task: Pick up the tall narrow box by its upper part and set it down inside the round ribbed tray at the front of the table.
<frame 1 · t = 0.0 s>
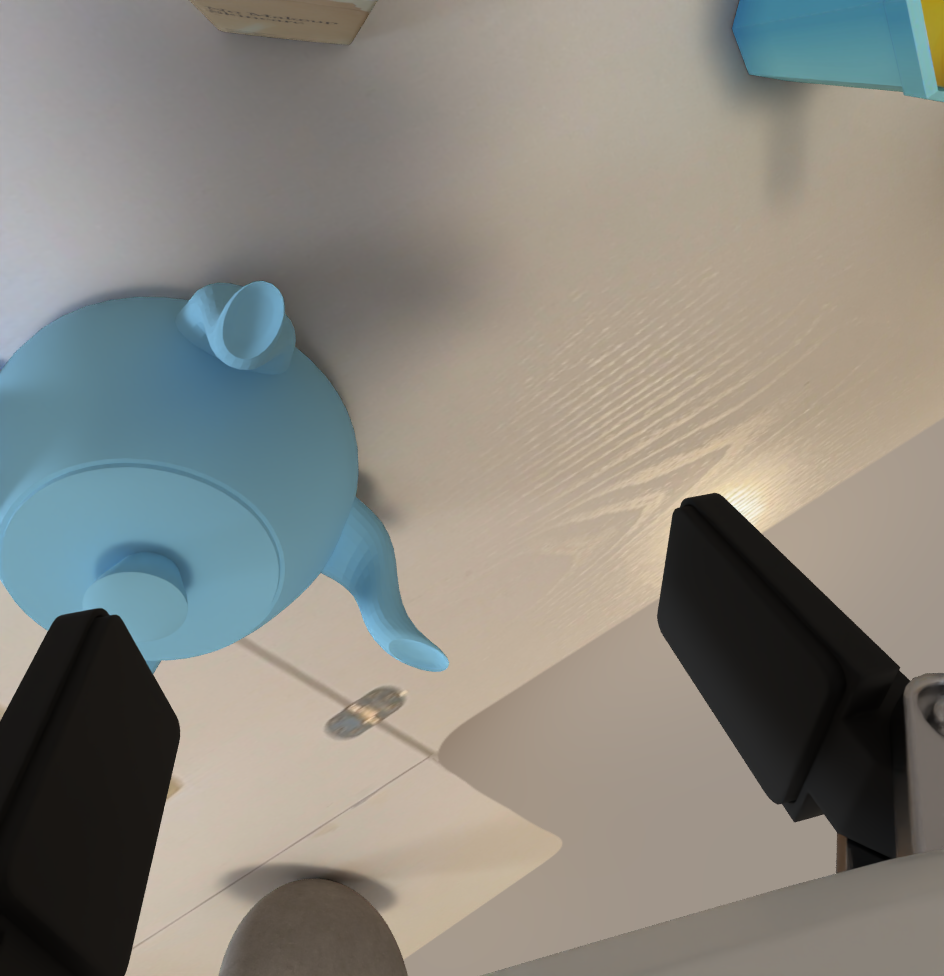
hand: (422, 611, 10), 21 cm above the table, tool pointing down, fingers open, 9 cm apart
planter: (322, 878, 55), on the table
teapot: (217, 453, 31), on the table
cup: (785, 34, 26), on the table
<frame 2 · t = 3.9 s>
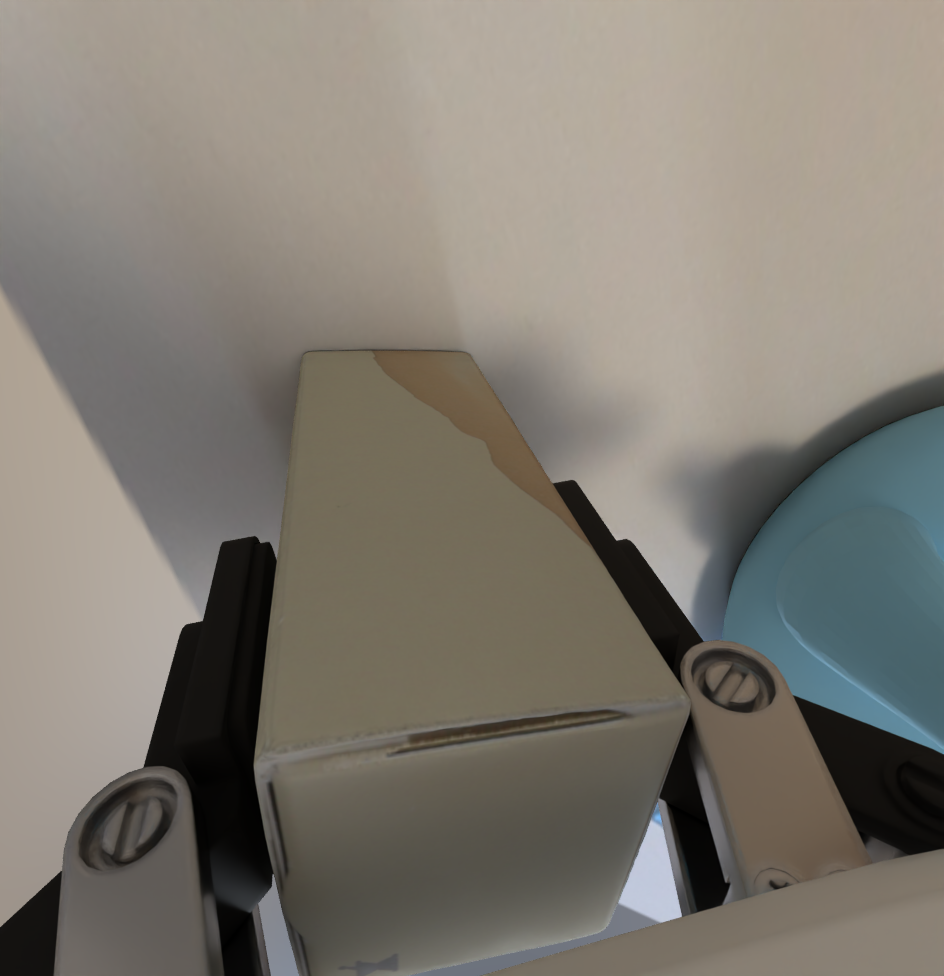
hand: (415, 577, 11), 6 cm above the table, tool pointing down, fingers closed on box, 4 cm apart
teapot: (901, 536, 23), on the table
box: (387, 432, 16), on the table, touching gripper
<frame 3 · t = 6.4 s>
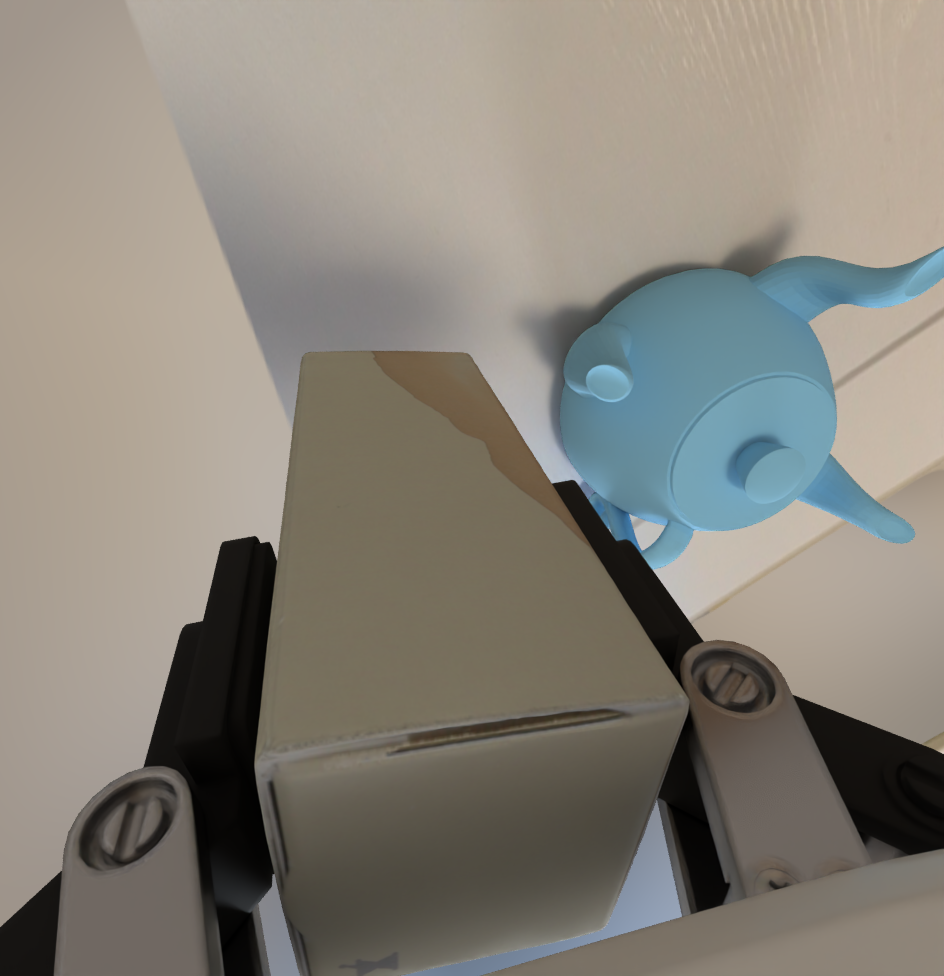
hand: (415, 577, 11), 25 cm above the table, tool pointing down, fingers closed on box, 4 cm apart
teapot: (674, 373, 39), on the table
box: (386, 432, 16), point 19 cm above the table, touching gripper
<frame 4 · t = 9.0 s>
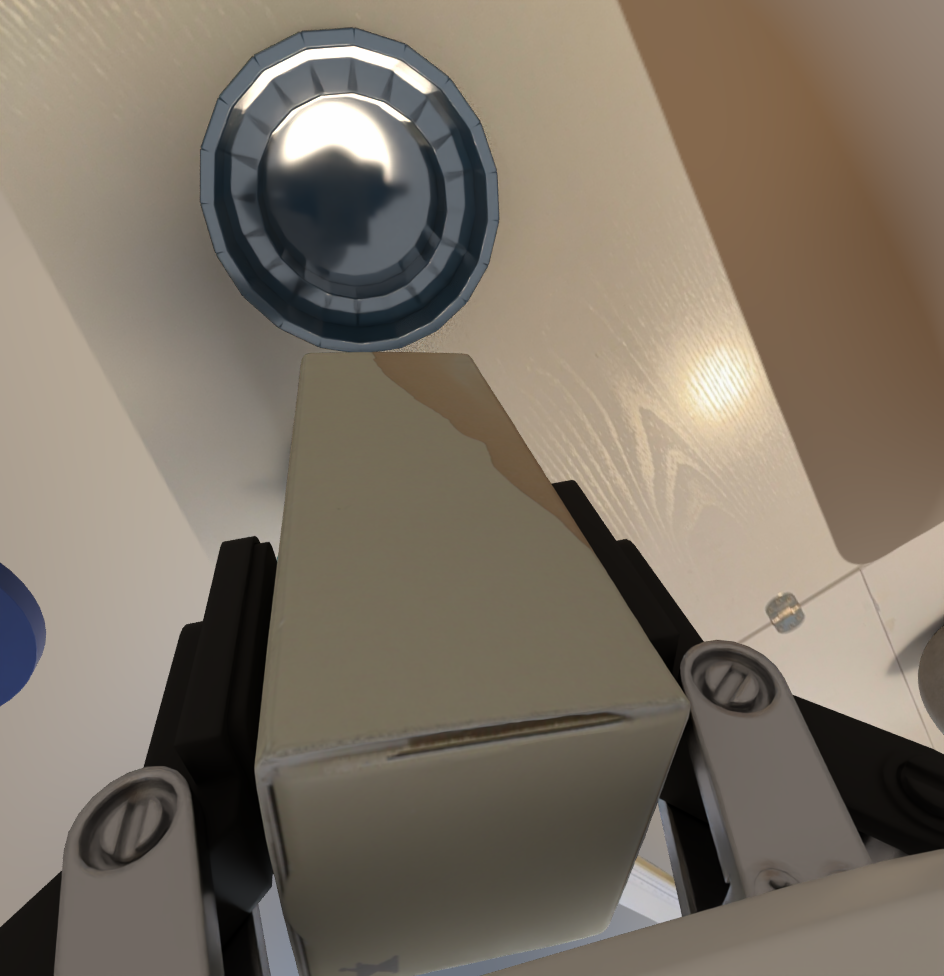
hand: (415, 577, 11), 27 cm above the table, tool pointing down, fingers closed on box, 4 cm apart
round ribbed tray: (352, 196, 32), on the table
box: (387, 433, 16), point 21 cm above the table, touching gripper
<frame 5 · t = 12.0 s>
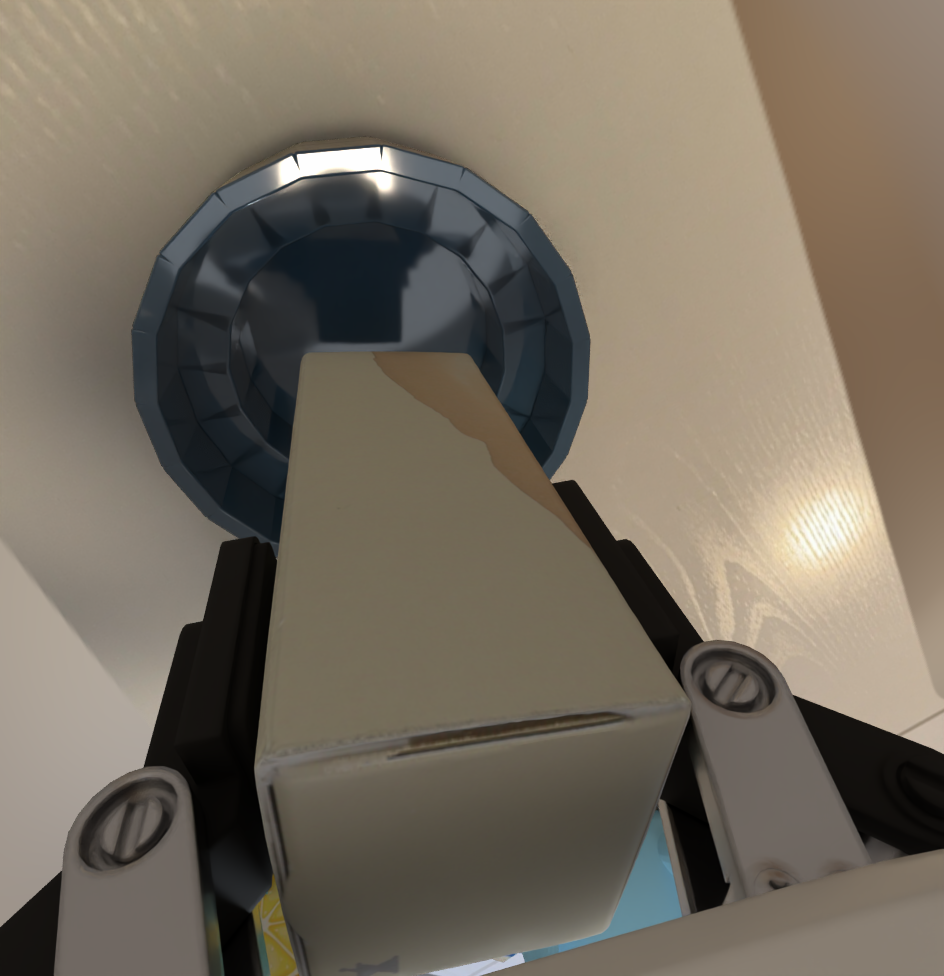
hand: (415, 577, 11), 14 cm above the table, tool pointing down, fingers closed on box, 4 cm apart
round ribbed tray: (367, 338, 22), on the table
teapot: (609, 842, 50), on the table
box: (386, 432, 16), point 8 cm above the table, touching gripper
cup: (363, 651, 32), on the table
when the fingers open (6 cm above the table, at t = 14.2 s): box stays where it is, resting on round ribbed tray.
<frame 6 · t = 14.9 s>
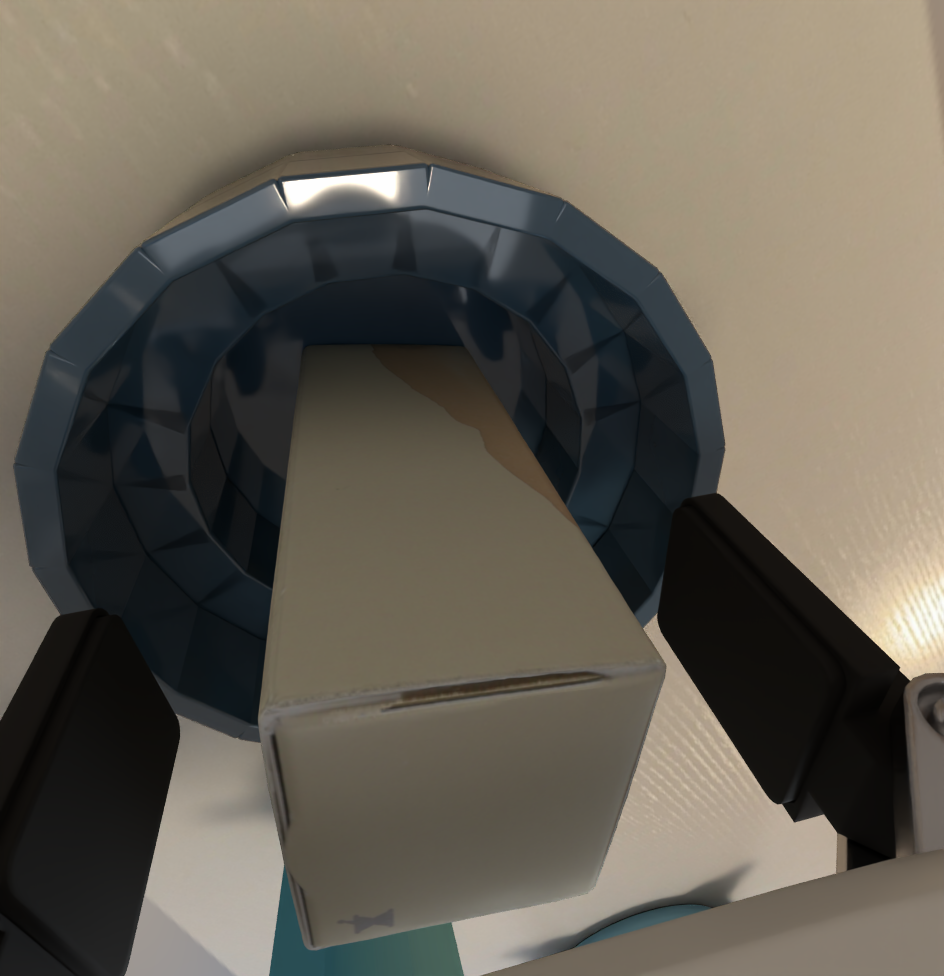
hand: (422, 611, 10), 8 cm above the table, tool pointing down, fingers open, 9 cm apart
round ribbed tray: (386, 415, 17), on the table
teapot: (648, 938, 44), on the table
box: (385, 424, 16), resting on round ribbed tray
cup: (375, 771, 26), on the table
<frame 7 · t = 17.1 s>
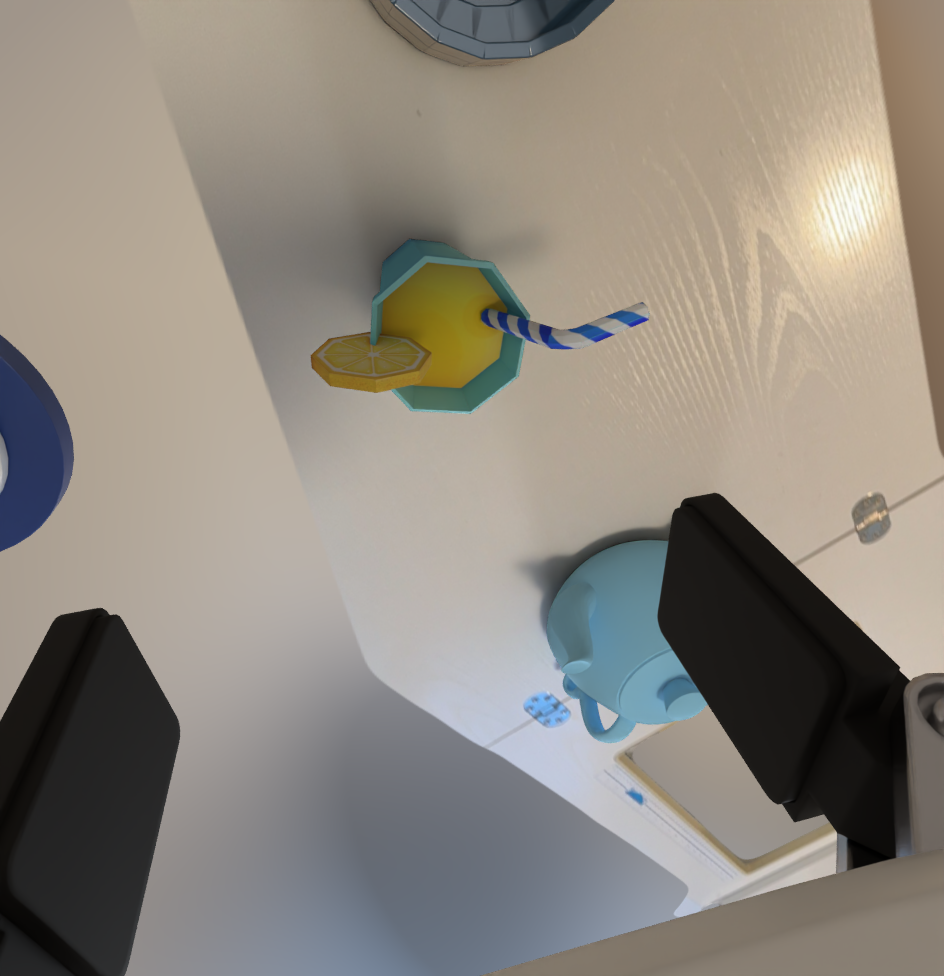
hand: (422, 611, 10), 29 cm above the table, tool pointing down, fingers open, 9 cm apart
teapot: (631, 588, 54), on the table
cup: (436, 278, 36), on the table
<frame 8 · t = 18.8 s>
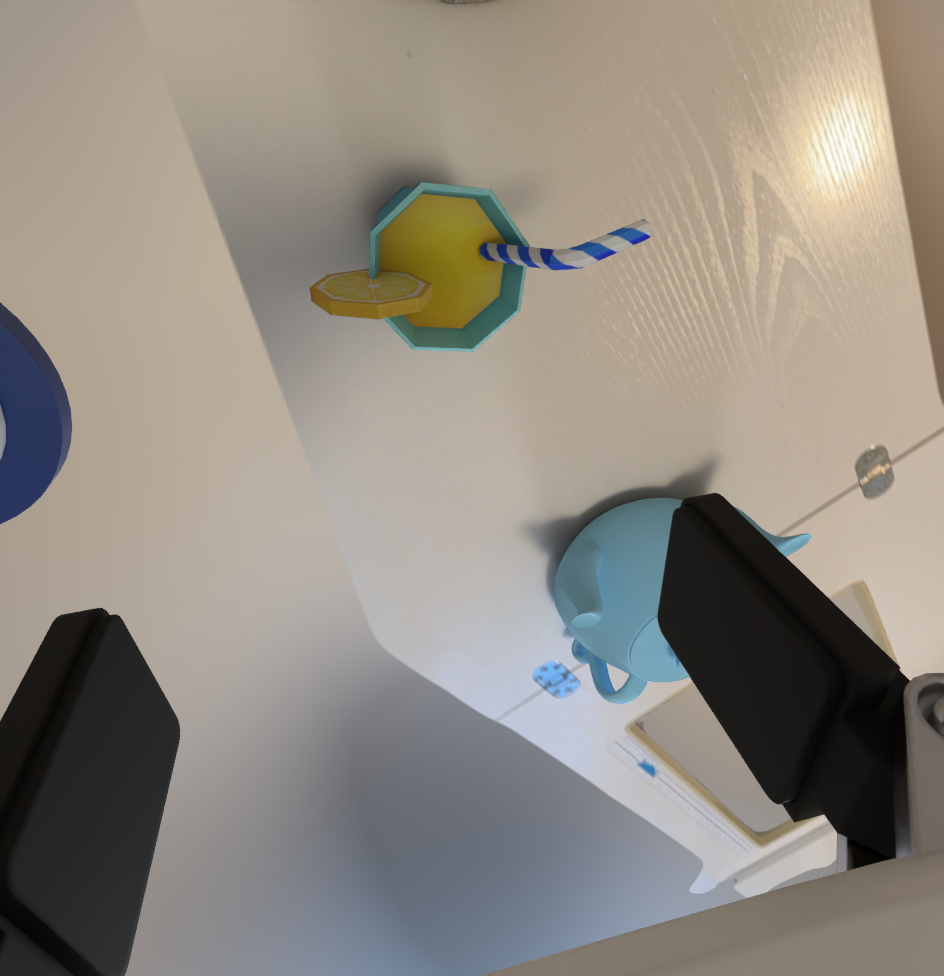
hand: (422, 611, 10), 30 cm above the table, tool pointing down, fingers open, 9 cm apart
teapot: (636, 550, 54), on the table
cup: (431, 228, 35), on the table
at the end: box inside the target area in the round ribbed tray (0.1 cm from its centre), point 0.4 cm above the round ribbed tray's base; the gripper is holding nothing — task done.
